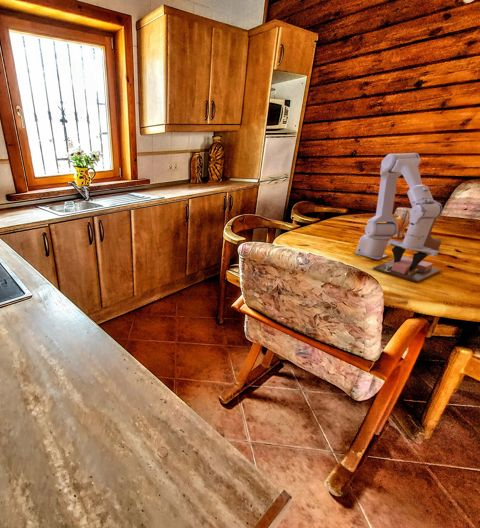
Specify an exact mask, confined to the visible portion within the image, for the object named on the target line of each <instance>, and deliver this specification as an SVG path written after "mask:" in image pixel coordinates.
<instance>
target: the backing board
mask: <svg viewBox="0 0 480 528" xmlns="http://www.w3.org/2000/svg"><path fill="white" fill-rule="evenodd" d="M402 260H406V261H410V262H412V261H413V257H410V256H407V255H402V258H401V261H402ZM393 263H394V259H392V260H389V261H387V262H384V263H381V264H379V265H377V266H374V267H373V271H377V272H379V273H383V274H386V275H390V276H393V277H396V278H399V279H403V280H406V281H409V282H413V283H415V284H417V283H420V282H422V281H424V280H427V279H428V278H430V277H432V276H434V275H437V274H439V273H440V272H441V269H439V268H435V267H433V266H434V263H433V262H429V261H425V260H422V261H421V262H420V263H419V264H418V265H417V266H416V268H415V269H414V270H412V271H409V272H408V273H406V274H403V273H400V272H396V271H393V270H391V268H392V266H393Z"/></svg>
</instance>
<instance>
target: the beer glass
mask: <svg viewBox="0 0 480 528" xmlns="http://www.w3.org/2000/svg"><path fill="white" fill-rule="evenodd" d="M410 209H412V207H404V206H403V207H402V206H401V207H396V208H395V211H394V213H393V215H392V216H393V217H394V218H396V219H397V226H398V232H397V233H396V235H395V236H392V238H394V239H404V237H405V235H404V234H405V231H406V229H407V228H408V226H409V224H410V222H409V219H410Z"/></svg>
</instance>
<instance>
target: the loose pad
mask: <svg viewBox="0 0 480 528" xmlns="http://www.w3.org/2000/svg"><path fill="white" fill-rule="evenodd" d="M411 263H412V262H410V261H406V260H402V261H398V262H395V263H393V266H392V268H391V270H393V271H396V272H400V273H403V274H406V273H408V272H409V271H412V270H409V268H410V266H411ZM415 268H416V267H415Z"/></svg>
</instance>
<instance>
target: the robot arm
mask: <svg viewBox="0 0 480 528" xmlns="http://www.w3.org/2000/svg"><path fill="white" fill-rule="evenodd" d="M421 162H422V160H421V158H420V154H419V153H417V152H410V153H409V152H408V153H407V152H406V153H388V154H387V155H386V156H385V157H384V158H383V159H382V160H381V163H380V171H379V175H380V181H379V189H378V196H377V203H376V211H375V215H374V216H372V217H370V218H368V219H367V223H366V225H365V228H364V233H365V234H362V235H361V236H360V238H359V240H358V243H357V247H356V249H355V250H356V251H355V252H354V254H355V255H358V256H359V255H360V256H363V257H366V258H370V259H374V260H377V261H379V260H381V259H384V258H387V257H388V255H387V254H385V252H386V249H387V246H391V247H392V248H391V252H392V255H393V260H394V263H395V262H398V261H401V258H402V256H404V253H405V252H406V250H408V251H411V252H415V253H413V254H412V258H413V261H412V263H411V266H410V268H409V270H414V269H415V267H416V266H417V265H418V264H419V263H420V262H421V261H424V259H426V258H427V257H428V256H430V257H437V256H438V253H439V250H438V251H437V250H433V249H430V248H427V247H424V246H423V245H424V242H425V240H426V238H427V235H428V233H429V230H430V228H431V225H432V223H433V220H434V219H435V218H437V219H438V218H439V217H441V215H442V213H443V205H442V204H441V203H440V202H438V201H437V200H434V198H433V195H432V193H431V191H430V188H429V186H428V185H426V184H423V182H422V178H421V173H420V170H419V166H420V164H421ZM401 176H403V179H404V180H405V182H406V184H407V186H408V188H409V189H408V191H407V193H406V195H407V196H408V199H409V203H410V205H411V208H412V209H410V219H409V224H408V226H407V230H406V232H405V235H404V237H403V241H400V240H394V239H392V238H393V237H392V236H395V235H396V233H397V232H398V226H397V219H396V218H394V217H393V216H394V215H393V211H394V204H395V197H396V191H397V190H396V189H397V184H398V178H400V177H401Z"/></svg>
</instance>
